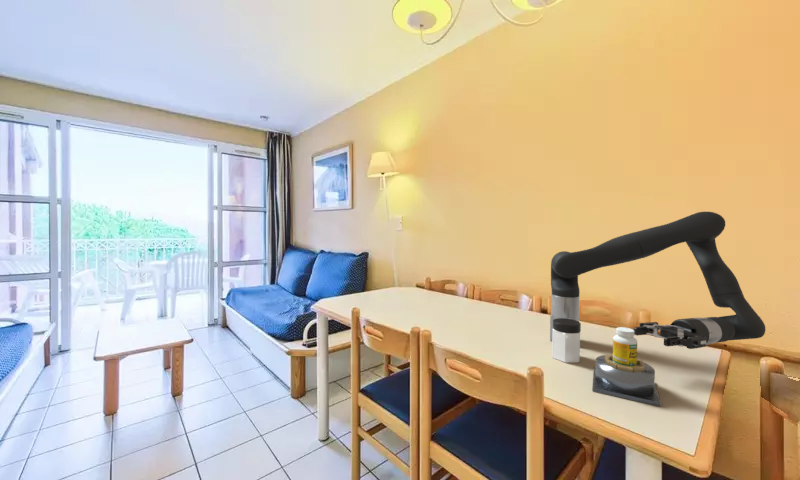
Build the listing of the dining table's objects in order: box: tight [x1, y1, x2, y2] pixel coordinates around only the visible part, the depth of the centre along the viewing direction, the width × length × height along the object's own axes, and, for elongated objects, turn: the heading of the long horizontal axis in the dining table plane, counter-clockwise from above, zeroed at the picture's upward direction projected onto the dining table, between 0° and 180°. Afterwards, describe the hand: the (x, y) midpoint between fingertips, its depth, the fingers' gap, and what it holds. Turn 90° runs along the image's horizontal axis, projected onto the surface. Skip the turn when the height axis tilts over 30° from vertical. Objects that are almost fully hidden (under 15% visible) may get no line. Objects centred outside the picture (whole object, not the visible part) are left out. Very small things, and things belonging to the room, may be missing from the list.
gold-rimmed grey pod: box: [591, 353, 661, 407], centre depth 87 cm, size 14×14×7 cm
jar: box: [551, 318, 582, 364], centre depth 106 cm, size 9×8×12 cm
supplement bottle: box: [612, 326, 638, 366], centre depth 87 cm, size 5×5×10 cm
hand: (649, 336), depth 89 cm, fingers open, 8 cm apart
